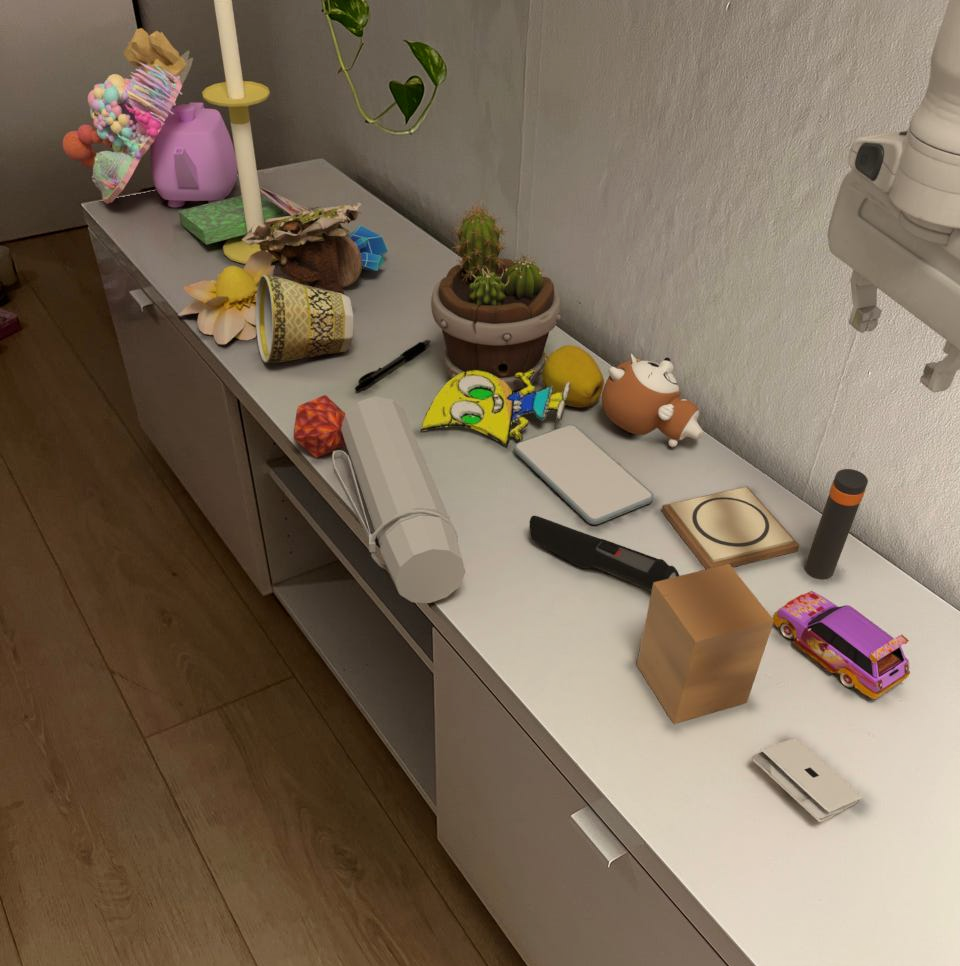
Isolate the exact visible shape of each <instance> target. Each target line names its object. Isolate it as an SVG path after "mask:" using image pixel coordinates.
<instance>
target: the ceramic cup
mask: <svg viewBox="0 0 960 966" xmlns="http://www.w3.org/2000/svg"><path fill="white" fill-rule="evenodd" d="M354 317H355V316H354V311H353V306H352V301H351V298H350V297H349V296H347V295H346V294H345V295H343V294H341V293H337V292H333V291H328V290H324V289H319V288H315V287H311V286H308V285H307V284H304V285H302V284H299V283H296V282H294V281H293V280H290V279H287V278H286V279H283V278H279V277H275V276H270V275H262V276H261V278H260V280H259V283H258V288H257V296H256V330H257V334H256V339H257V346H258V350H259V354H260V357H261V360H262V362H263V363H264V364H276V363H277V364H278V363H283V362H290V361H296V360H299V359H304V358H313V357H317V356H325V355H331V354H338V353H344V352H345V353H346V352H347V351H349V349H350V347H351V344H352V340H353V337H354Z"/></svg>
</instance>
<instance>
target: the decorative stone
mask: <svg viewBox="0 0 960 966" xmlns="http://www.w3.org/2000/svg"><path fill="white" fill-rule="evenodd" d="M345 414H346V412H345V411H344V410H343V409H341V408H340V407H339V405H337V404H336V403H335V401H333V400H332V399H331V398H330V397H329V396H328V395H326V394H324V395H321V396H318V397H316V398H314V399H311V400H308V401H305V402H304V403H301V404H299V405H298V406H297V409H296V413H295V419H294V427H293V428H294V429H293V439H294V440H295V441H296V442H297V443H298V444H299V445H300V446H302V448H304V449H305V450H306V451H307V452H308V453H309V454H311V455H312V456H313V457H314V458H315V459H318V458H320V457H323V456H325V455H327V454H329V453H333V451H337V450H340V449H341V448H343V447H344V445H345V444H346V443H345V440H344V437H343V434H342V431H341V427H342V424H343V420H344V416H345Z"/></svg>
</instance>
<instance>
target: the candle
mask: <svg viewBox="0 0 960 966" xmlns="http://www.w3.org/2000/svg"><path fill="white" fill-rule="evenodd" d="M213 5H214V11H215V18H216V24H217V25H216V26H217V31H218V32H217V33H218V38H219V45H220V51H221V58H222V63H223V72H224V77H225V81H223V82H218V83H214V84H212V85H211V84H210V86H207V87H205V88H204V89H203V90H202V92H201V94H202V98H203V101H205V102H207V103H208V104H210V105H215V106H218V107H225V108H226V107H228V113H229V120H230V127H231V128H230V129H231V134H232V140H233V141H232V142H233V147H234V151H235V155H236V161H237V167H238V173H237V175H238V180H239V186H240V193H241V194H240V195H242V200H243V207H244V214H245V220H246V227H247V233H248V232H249V231H250V229H251V228H252V227H253V228H252V233H254V232H255V230H256V228H257V227H258V226H259V225H260V226H261V225H262V224H263V223H264V219H263V212H262V204H261V197H260V195H261V191H260V190H259V186H260V184H259V177H258V175H259V174H258V170H257V161H256V154H255V147H254V141H253V132H252V125H251V119H250V112H249V106H253V105H258V104H260V103H262V102H264V101H267V100H268V98H269V97H270V95H271V91H270V89H269V87H267V86H266V85H264V84H262V83H259V82H255V81H251V80H250V81H249V80H248V81H247V80H244V79H243V71H242V63H241V56H240V50H239V42H238V35H237V29H236V22H235V21H236V20H235V16H234V14H235V13H234V8H233V1H232V0H213ZM245 236H246V234H244V235H241V236H237V237H233V238H229V239H226V241H225V243H224V244H223V246H222V251H223V255H224V256H226V258H227V259H229V260H230V261H233V262H236V263H240V264H244V265H246V262H247V261H248V259H249V257H250V256H251V255H252V254H254V253H255V252H257V251H261V250H260V245H259V244H253V245H250V244H248V243H246V242H244V241H243V240H242V239H243V238H244V237H245ZM266 252H268V251H267V250H266ZM277 261H278V262H279V261H280V260H279V259H277V258H276V257H274V256H273V255H272V261H271V264H272V263H275V262H277Z"/></svg>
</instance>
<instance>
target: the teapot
mask: <svg viewBox="0 0 960 966" xmlns="http://www.w3.org/2000/svg"><path fill="white" fill-rule="evenodd" d="M170 111H171V112H172V113H174V114H173V115H172V114H171V113H169V114H168V117H167V118H166V120H165V122H164V125H162V127H161V129H160V132H159V133H158V136H157V137H156V138H155V140H154V142H153V143H152V144H151V146H150V168H151V177H152V182H153V185H154V188H155V190H156V191H157V193H158V194H159V195H160V197H161V198H162V199H163V200H167V201H168V202H167V206H168V207H170V208H180V207H183V206H184V205H185V204H186V202H188V201H189V202H201V201H203V202H204V201H206V202H208V204H209V203H213V202H217V201H221V200H224V199H226V198H227V197H228V196H229V195H230V193H232V191H233V189H234V187H235V184H236V182H237V178H238V167H237V161H236V154H235V148H234V143H233V141H232V138H231V136H230V133H229V130H228V128H227V126H226V123H225V121H224V119H223V116H222V114H221V113H220V111H219V110H217V109H215V108H205V107H204V102H193V101H192V102H189V104H188V103H187V104H185V103H183V104H179V105H175V106H174V108H173V107H172V108H171V110H170Z"/></svg>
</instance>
